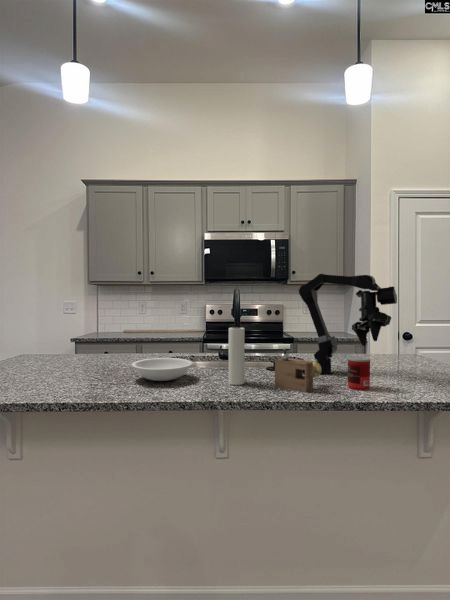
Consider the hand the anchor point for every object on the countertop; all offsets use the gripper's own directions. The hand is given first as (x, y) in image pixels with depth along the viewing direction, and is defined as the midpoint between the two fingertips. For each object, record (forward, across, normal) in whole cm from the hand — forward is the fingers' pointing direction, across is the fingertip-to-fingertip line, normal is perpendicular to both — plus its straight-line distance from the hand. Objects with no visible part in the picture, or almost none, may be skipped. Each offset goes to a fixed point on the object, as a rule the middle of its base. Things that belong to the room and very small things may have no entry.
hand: (369, 343), depth 150 cm
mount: (+20, 0, +30) cm, 36 cm away
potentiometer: (+11, -2, +34) cm, 36 cm away
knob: (+16, 0, +23) cm, 28 cm away
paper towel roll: (+20, +9, +49) cm, 54 cm away
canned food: (+18, -2, +6) cm, 19 cm away
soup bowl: (+21, +18, +78) cm, 82 cm away
